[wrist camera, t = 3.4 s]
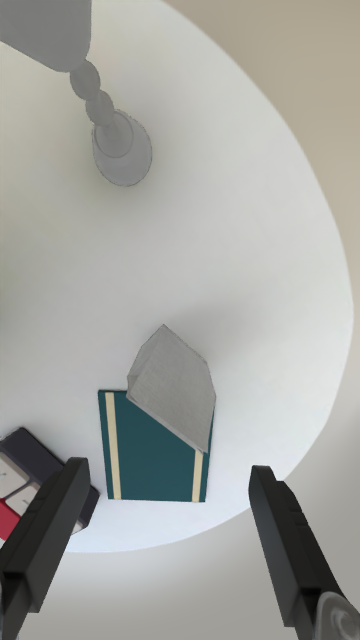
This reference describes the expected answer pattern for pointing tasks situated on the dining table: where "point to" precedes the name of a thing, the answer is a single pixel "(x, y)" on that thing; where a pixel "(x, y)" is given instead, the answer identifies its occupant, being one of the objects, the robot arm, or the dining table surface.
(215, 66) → the dining table surface
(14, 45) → the chalice
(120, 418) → the cloth
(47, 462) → the calculator
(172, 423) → the white gable top carton
